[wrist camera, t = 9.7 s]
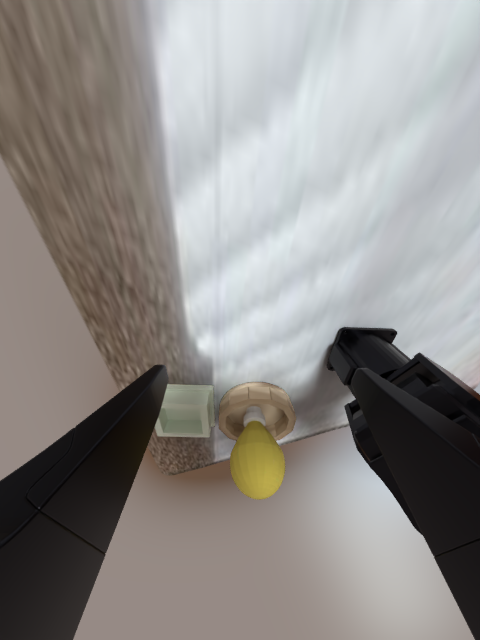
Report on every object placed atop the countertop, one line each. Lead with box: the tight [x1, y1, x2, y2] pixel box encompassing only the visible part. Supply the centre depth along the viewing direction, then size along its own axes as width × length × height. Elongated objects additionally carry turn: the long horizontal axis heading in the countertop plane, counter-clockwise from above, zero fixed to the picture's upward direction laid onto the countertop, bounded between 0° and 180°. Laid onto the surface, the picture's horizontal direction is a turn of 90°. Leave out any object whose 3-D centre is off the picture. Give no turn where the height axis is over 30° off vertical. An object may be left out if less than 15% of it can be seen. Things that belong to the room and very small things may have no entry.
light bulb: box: [230, 406, 285, 499], centre depth 24 cm, size 7×7×10 cm
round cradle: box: [219, 382, 296, 441], centre depth 28 cm, size 11×11×3 cm
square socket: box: [155, 384, 215, 438], centre depth 28 cm, size 9×9×3 cm
